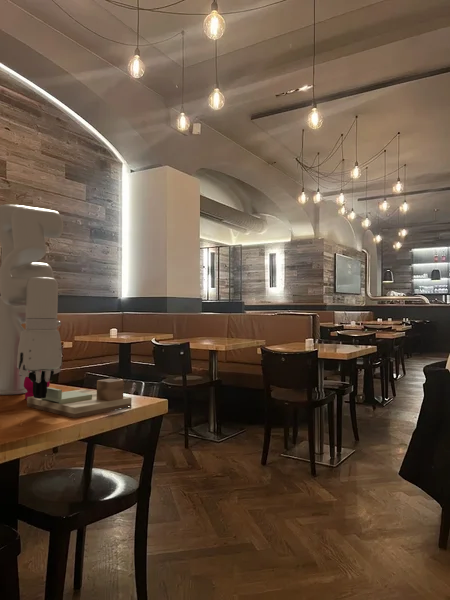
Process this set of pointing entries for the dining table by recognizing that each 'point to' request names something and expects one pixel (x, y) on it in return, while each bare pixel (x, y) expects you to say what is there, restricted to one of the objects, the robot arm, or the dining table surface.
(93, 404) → the board
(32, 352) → the robot arm
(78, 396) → the lid
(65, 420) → the dining table surface
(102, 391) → the walnut cube
